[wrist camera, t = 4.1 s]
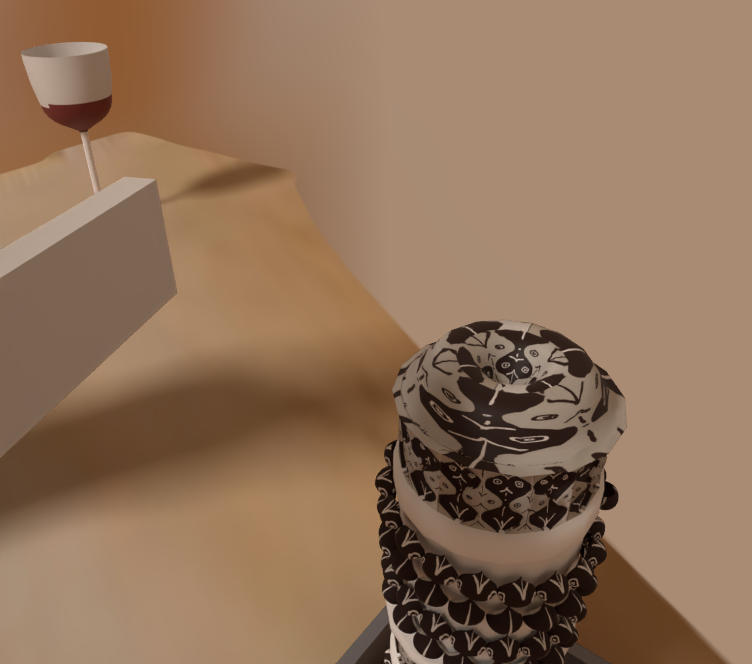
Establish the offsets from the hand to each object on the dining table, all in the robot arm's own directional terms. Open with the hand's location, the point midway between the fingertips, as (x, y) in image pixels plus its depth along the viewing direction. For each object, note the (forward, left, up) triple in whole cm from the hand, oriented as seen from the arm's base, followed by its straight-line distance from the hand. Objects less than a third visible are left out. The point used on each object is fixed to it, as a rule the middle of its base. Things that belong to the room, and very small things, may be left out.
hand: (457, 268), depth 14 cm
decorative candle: (+8, +2, -32) cm, 33 cm away
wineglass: (+36, +76, -32) cm, 90 cm away
